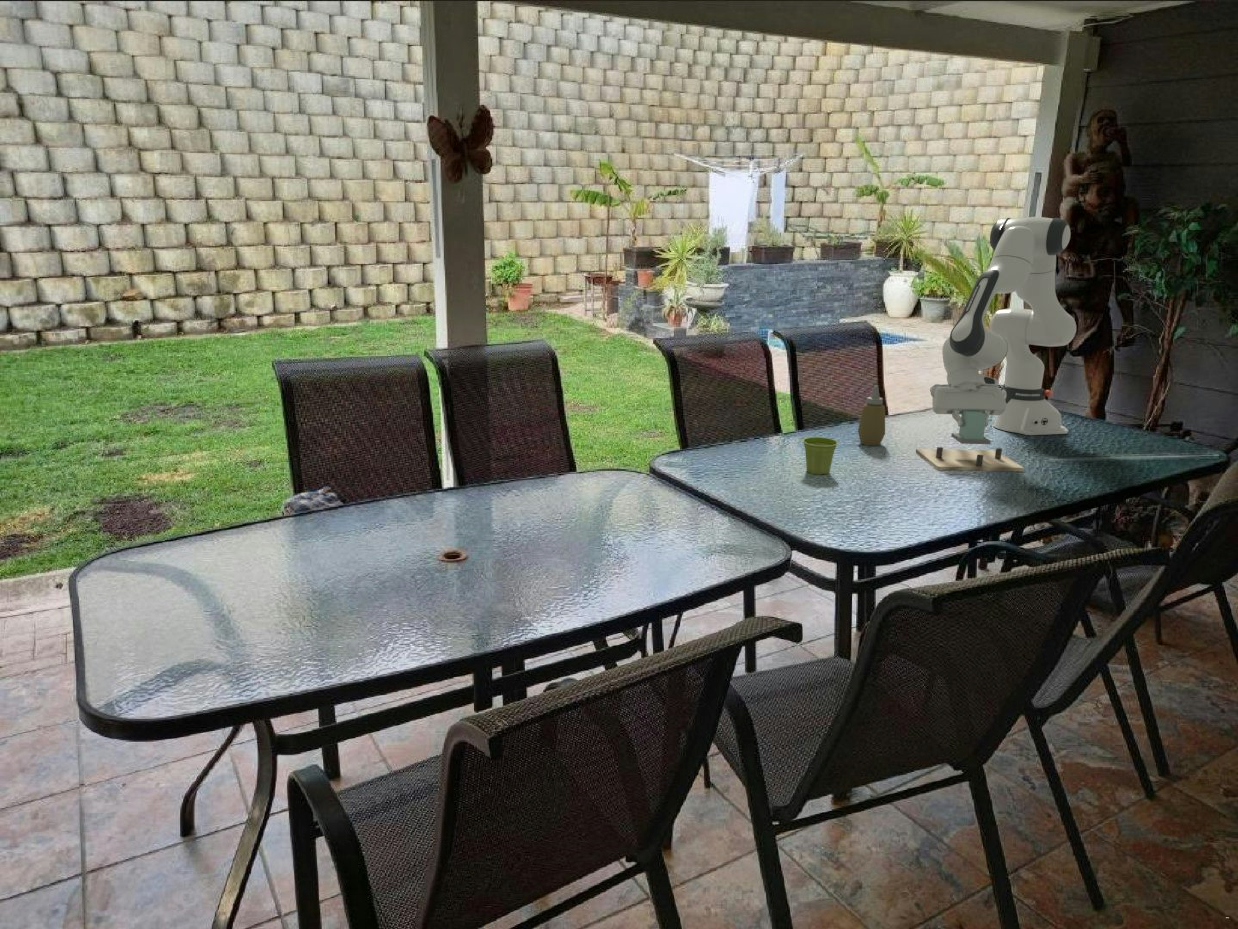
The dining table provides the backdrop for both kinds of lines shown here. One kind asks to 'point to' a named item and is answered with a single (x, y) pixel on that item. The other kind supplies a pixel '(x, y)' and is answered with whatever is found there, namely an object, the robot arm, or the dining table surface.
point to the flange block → (972, 428)
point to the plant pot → (819, 454)
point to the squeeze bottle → (872, 420)
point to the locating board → (968, 460)
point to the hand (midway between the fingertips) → (973, 425)
